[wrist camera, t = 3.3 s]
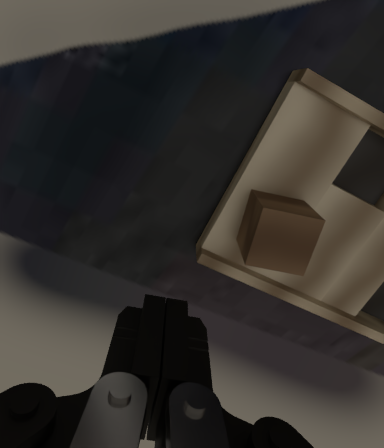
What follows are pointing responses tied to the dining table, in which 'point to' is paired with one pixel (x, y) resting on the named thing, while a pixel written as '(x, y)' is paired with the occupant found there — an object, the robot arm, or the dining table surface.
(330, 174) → the tray
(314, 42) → the dining table surface
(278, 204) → the walnut block
